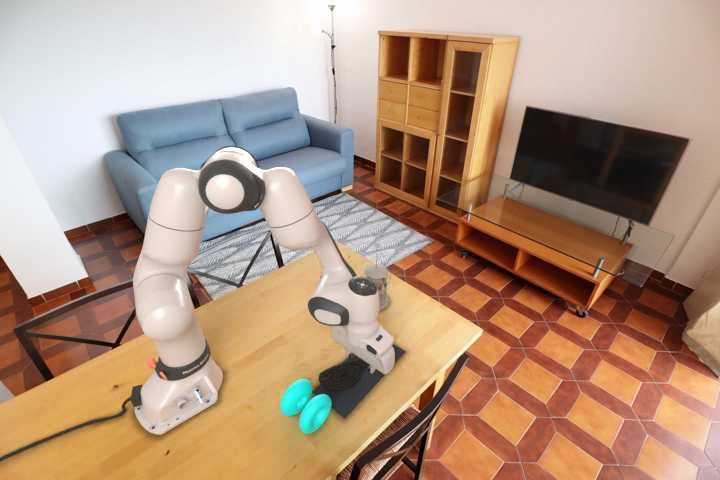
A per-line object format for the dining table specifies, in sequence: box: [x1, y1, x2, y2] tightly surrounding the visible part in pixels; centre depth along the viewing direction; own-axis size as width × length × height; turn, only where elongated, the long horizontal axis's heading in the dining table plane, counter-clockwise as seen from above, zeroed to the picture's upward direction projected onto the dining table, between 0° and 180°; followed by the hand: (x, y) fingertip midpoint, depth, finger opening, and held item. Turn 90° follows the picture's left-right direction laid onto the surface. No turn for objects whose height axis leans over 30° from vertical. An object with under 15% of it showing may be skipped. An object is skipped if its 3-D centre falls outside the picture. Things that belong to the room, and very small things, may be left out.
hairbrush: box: [318, 350, 395, 392], centre depth 106 cm, size 8×4×25 cm
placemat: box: [312, 343, 406, 419], centre depth 107 cm, size 28×12×1 cm, turn 140°
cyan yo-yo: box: [279, 378, 332, 435], centre depth 93 cm, size 10×10×10 cm
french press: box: [363, 242, 392, 311], centre depth 126 cm, size 10×12×25 cm
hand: (361, 363), depth 106 cm, fingers closed on hairbrush, 6 cm apart
